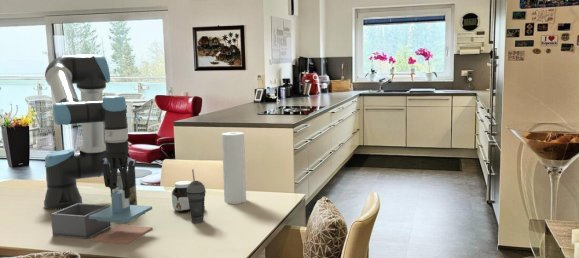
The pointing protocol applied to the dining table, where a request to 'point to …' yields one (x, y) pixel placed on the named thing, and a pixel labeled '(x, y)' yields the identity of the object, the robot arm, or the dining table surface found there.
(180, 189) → the spread jar
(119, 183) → the coffee box
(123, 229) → the rubber mat
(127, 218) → the lid
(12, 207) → the dining table surface
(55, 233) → the storage box
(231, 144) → the paper towel roll
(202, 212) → the beverage cup
